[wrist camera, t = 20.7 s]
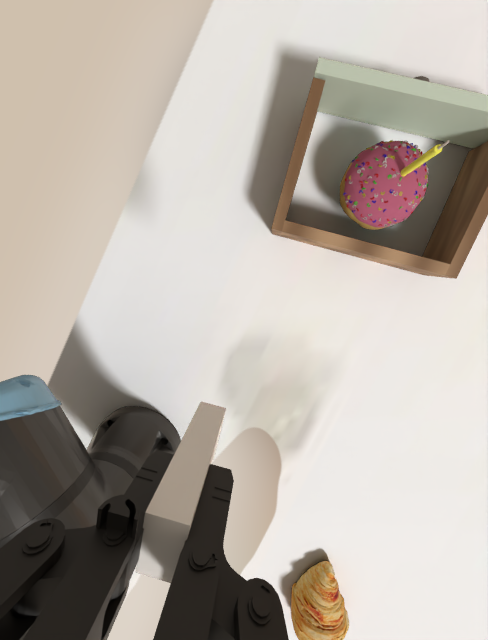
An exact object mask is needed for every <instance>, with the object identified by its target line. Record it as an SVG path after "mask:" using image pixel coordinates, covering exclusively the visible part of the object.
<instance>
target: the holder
mask: <svg viewBox="0 0 488 640" xmlns="http://www.w3.org/2000/svg"><path fill="white" fill-rule="evenodd" d="M325 81H326V80H322V79H318V78H313V81H312V84H311V88H310V92H309V95H308V99H307V102H306V106H305V110H304V113H303V117H302V120H301V124H300V127H299V131H298V135H297V138H296V142H295V145H294V149H293V153H292V156H291V160H290V163H289V167H288V170H287V174H286V178H285V181H284V185H283V188H282V192H281V196H280V199H279V203H278V206H277V210H276V213H275V217H274V221H273V224H272V228H271V230H272V234H274V235H278V236H282V237H285V238H289V239H293V240H296V241H300V242H304V243H307V244H311V245H315V246H318V247H322V248H326V249H330V250H333V251H337V252H341V253H344V254H348V255H352V256H355V257H359V258H363V259H366V260H370V261H374V262H377V263H381V264H385V265H389V266H392V267H396V268H400V269H403V270H407V271H411V272H414V273H418V274H422V275H427V276H437V277H446V278H457V276H458V274H459V272H460V270H461V268H462V266H463V264H464V262H465V260H466V258H467V256H468V254H469V252H470V250H471V248H472V246H473V244H474V242H475V240H476V238H477V235H478V233H479V231H480V229H481V227H482V225H483V223H484V221H485V219H486V217H487V215H488V141H487V142H485V143H483V144H481V145H480V146H478V147H476V148H474V149H473V150H471V151H469V152H468V155H467V157H466V159H465V161H464V164H463V166H462V168H461V170H460V173H459V175H458V177H457V179H456V182H455V184H454V186H453V188H452V191H451V193H450V195H449V197H448V200H447V202H446V204H445V206H444V209H443V211H442V213H441V215H440V218H439V220H438V222H437V224H436V227H435V229H434V231H433V233H432V236H431V238H430V240H429V242H428V245H427V247H426V249H425V251H424V254H423V256H422V257H421V256H417V255H413V254H410V253H406V252H402V251H398V250H395V249H391V248H387V247H383V246H380V245H376V244H372V243H368V242H365V241H361V240H357V239H353V238H350V237H346V236H342V235H338V234H335V233H331V232H327V231H323V230H320V229H316V228H312V227H308V226H305V225H301V224H297V223H293V222H290V221H286V217H287V214H288V210H289V207H290V203H291V200H292V197H293V193H294V190H295V186H296V183H297V179H298V176H299V173H300V169H301V166H302V162H303V159H304V155H305V152H306V148H307V145H308V142H309V138H310V135H311V131H312V128H313V124H314V121H315V118H316V114H317V110H318V107H319V103H320V99H321V95H322V92H323V88H324V84H325Z"/></svg>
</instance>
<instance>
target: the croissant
mask: <svg viewBox="0 0 488 640" xmlns="http://www.w3.org/2000/svg"><path fill="white" fill-rule="evenodd" d="M334 575H335V574H334V571H333V568H332V565H331V564H330V563H329V562H328V561H323V562H319V563H318V564H316V565H314V566H312V567H311V568H309V569H308V571H307V572H306V573H304V574H303V575H302V576H301V577H300V579H299V580H298V581H297V583H296V582H295V583H294V584H293V586H292V597H291V614H292V622H293V626H294V630H295V633H296V635H297V637H298V639H299V640H343V639H344V637H345V635H346V633H347V631H348V628H349V619H348V615H347V611H346V609H345V607H344V598H343V597H342V595H341V594H340V592H339V589H338V583H337V580H336V579H335V577H334Z"/></svg>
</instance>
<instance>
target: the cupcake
mask: <svg viewBox="0 0 488 640" xmlns="http://www.w3.org/2000/svg"><path fill="white" fill-rule="evenodd" d="M381 142H382V143H381ZM381 142H380V143H378V144H376V145H374V146H372V147H370V148H366V150H364V151H362V152H361V153H360V154H359V155H358V156H357V157H356V158H355V159H354V160H353V161H352V162H351V163H350V165H349V166H348V168H347V170H346V172H345V174H344V176H343V178H342V181H341V184H340V204H341V207H342V209H343V211H344V212H345V213H346V214H347V215H348V216H349V217H350V218H351V219H352V220H353V221H355V222H356V223H358V224H359V225H360V226H361V227H363V228H366V229H372V230H376V229H382V228H385V227H388V226H393V225H394V224H397V223H399V222H402V221H404V220H405V219H407V218H408V217H409V216H410V215H411V213H413V211H414V210H415V208H416V207H417V206H418V205H419V203H420V202H421V201H422V199H424V195H425V192H426V189H427V186H428V174H429V171H428V170H429V168H427V165H426V162H427V161H428V160H429V159H431V158H432V157H434V156H435V155H437V154H438V153H440V152H441V151H442V147H444V146H445V145H446V144H448V143H449V140H448V141H446V142H445V143H443V144H442V145H440V144H438V145H436V146H434V147H433V148H431V149H430V150H429V151H427V152H426V153H425V154H423V155H422V151H421V153H420V149H417V148H418V145H415V146H417V147H416V148H415V146H413V143H411V144H409V143H408V141H393V140H391V141H389V142H383V141H381ZM427 169H428V170H427Z"/></svg>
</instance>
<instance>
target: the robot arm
mask: <svg viewBox="0 0 488 640" xmlns="http://www.w3.org/2000/svg"><path fill="white" fill-rule="evenodd" d="M60 405H61V402H60V401H59V400H56V398H55V397H54V395H53V394H52V392H51V391H50V389H49V388H48V387H47V385H46V384H45V382H44V381H43V380H42V379H40V378H39V377H37V376H33V375H21V376H18V377H14V378H11V379H8V380H5V381H2V382H0V640H107V638H108V636H109V633H110V631H111V629H112V626H113V624H114V622H115V619H116V617H117V615H118V612H119V610H120V608H121V606H122V603H123V601H124V599H125V596H126V593H127V590H128V586H129V580H130V578H131V576H132V574H133V571H134V569H135V567H136V573H139V574H143V575H146V576H149V577H153V578H156V579H159V580H162V581H166V582H169V583H171V585H170V588H169V591H168V594H167V597H166V601H165V604H164V607H163V610H162V613H161V617H160V620H159V623H158V626H157V629H156V632H155V636H154V639H153V640H289V639H288V634H287V629H286V624H285V619H284V614H283V609H282V605H281V602H280V599H279V596H278V594H277V592H276V591H275V589H274V588H273V587H272V585H270V584H269V583H268V582H267V581H265V580H263V579H259V578H254V579H250V580H248V581H246V580H245V579H244V578H243V577H241V576H240V575H239V574H237V573H236V572H235V571H234V570H233V569H232V568H231V567H230V565H229V564H228V562H227V560H226V557H225V555H224V550H223V540H224V534H225V528H226V522H227V517H228V511H229V505H230V499H231V493H232V487H233V482H234V480H233V476H232V473H231V470H230V469H227V468H223V467H219V466H216V465H212V462H213V459H214V456H215V452H216V449H217V445H218V441H219V436H220V432H221V428H222V424H223V419H224V415H225V411H226V408H223V407H219V406H216V405H212V404H208V403H204V402H201V403H200V405H199V406H198V408H197V410H196V412H195V414H194V416H193V418H192V420H191V422H190V424H189V426H188V428H187V430H186V432H185V434H184V436H183V438H182V440H180V437H179V435H178V433H177V431H176V430H175V428H174V427H173V425H172V424H171V423H170V422H169V421H168V420H167V419H166V418H164V417H163V416H162V415H160V414H159V413H157V412H155V411H153V410H150V409H148V408H144V407H138V406H129V407H124V408H121V409H118V410H116V411H115V412H113V413H112V414H111V415H110V416H108V417H107V418H106V419H105V420H104V421H103V422H102V423H101V424H100V426H99V427H98V429H97V430H96V432H95V434H94V436H93V438H92V440H91V442H90V444H89V446H88V448H87V450H86V448H85V447H84V445H83V443H82V442H81V440H80V438H79V437H78V435H77V433H76V432H75V430H74V428H73V427H72V425H71V423H70V422H69V420H68V418H67V417H66V415H65V414H64V412H63V410H62V409H61V407H60ZM136 565H137V566H136Z"/></svg>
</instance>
